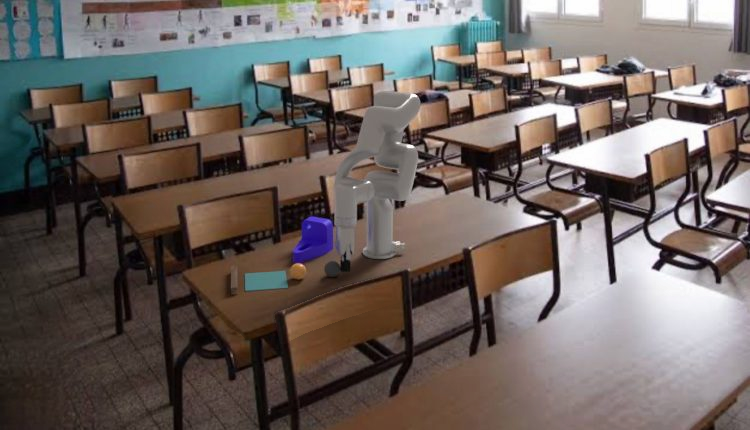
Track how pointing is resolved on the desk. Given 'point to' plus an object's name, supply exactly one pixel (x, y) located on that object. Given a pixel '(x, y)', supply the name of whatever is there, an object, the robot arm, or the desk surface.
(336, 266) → the grey ball
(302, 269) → the orange ball
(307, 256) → the bracket
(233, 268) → the wooden bar
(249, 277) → the teal mark
